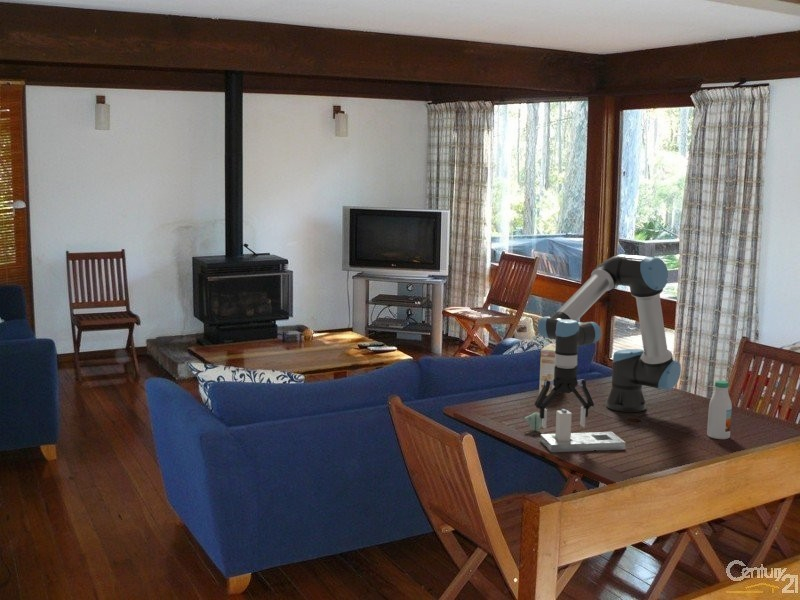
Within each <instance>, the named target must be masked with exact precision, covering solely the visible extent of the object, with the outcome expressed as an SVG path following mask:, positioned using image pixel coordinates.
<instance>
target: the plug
mask: <svg viewBox="0 0 800 600" xmlns="http://www.w3.org/2000/svg"><path fill="white" fill-rule="evenodd" d="M555 414H556V417H555V433H554V434H555V440H556V441H557V442H562V441H570V440H571V433H572V417H573V416H572V415H573V414H572V412H571V411H569V410H567V409H565V408H561V410H556V413H555Z"/></svg>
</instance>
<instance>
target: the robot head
mask: <svg viewBox="0 0 800 600" xmlns="http://www.w3.org/2000/svg"><path fill="white" fill-rule="evenodd" d="M539 415H540V412H537V411H535V412H532V414H529V415H526V416H525V417H524V420H525V421H526V422H527V423H528V424H529V425H530V428H531V429H532V430H533V431H534V432H537V431H539V430H540V429H541V428H542V419H541V418H540V416H539Z"/></svg>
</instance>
